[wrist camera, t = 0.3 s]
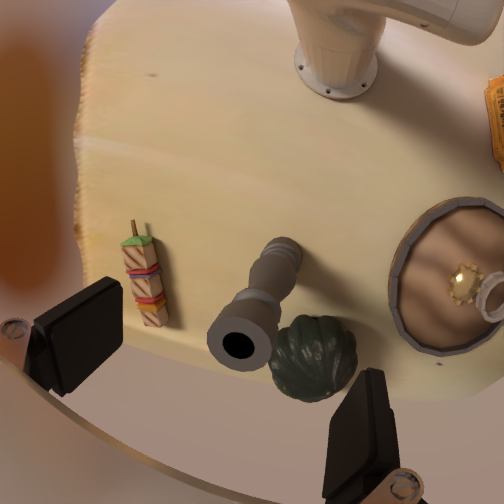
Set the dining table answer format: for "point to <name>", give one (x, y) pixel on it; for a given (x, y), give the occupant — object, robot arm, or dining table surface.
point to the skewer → (145, 278)
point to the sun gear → (464, 283)
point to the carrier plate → (444, 263)
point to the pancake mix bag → (496, 116)
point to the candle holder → (256, 309)
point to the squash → (313, 358)
